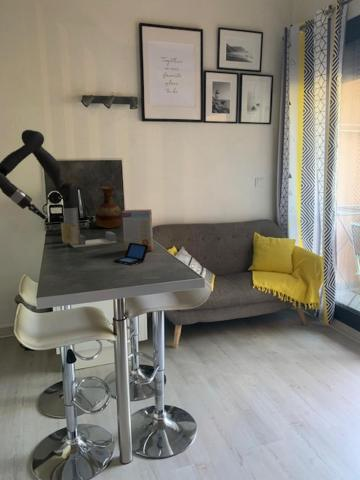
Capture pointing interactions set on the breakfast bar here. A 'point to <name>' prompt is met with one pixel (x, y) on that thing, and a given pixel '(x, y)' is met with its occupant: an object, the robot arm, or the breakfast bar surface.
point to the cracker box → (138, 228)
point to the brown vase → (108, 210)
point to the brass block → (66, 232)
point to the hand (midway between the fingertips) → (44, 217)
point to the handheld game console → (134, 254)
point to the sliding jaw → (76, 236)
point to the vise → (99, 240)
